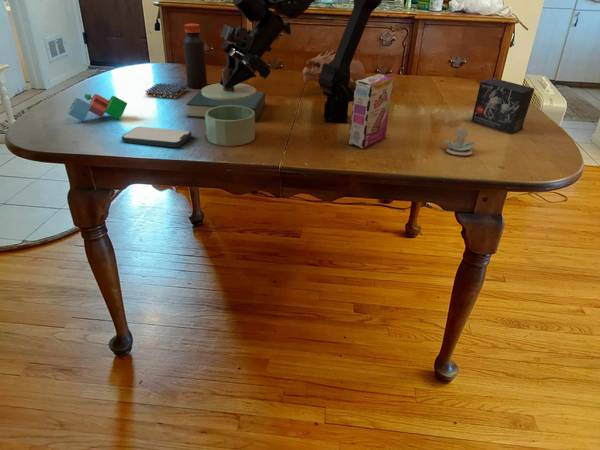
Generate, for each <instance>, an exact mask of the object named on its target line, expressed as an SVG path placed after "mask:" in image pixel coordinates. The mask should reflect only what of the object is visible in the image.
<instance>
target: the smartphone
mask: <svg viewBox="0 0 600 450" xmlns="http://www.w3.org/2000/svg"><path fill="white" fill-rule="evenodd" d="M192 137H193V133H192V131H190V130H181V129H170V128H161V127H160V128H158V127H150V126H136V127H134V128H133V129H130V130H129V131H128V132H126V133H124V134H123V135H122V136H121V142H123V143H128V144H137V145H148V146H158V147H169V148H180V147H182V146H183V145H184V144H185V143H186V142H187V141H189V140H190V139H191V138H192Z"/></svg>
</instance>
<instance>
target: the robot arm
mask: <svg viewBox="0 0 600 450" xmlns="http://www.w3.org/2000/svg"><path fill="white" fill-rule="evenodd" d="M315 1H316V0H232V4H233V5H234V6H235V7H236V9H237V10H238V11H239V12H240V13H241V14H242V15H243V16H244V17H245V18H246V19H247V20H248V22H249V23H253V22H256V24H255V25H254V27H253V28H252V29H249V28H248V29H247V28H245V27H244V26H240V25H238V26H237V27H236V28H235V27H233V26H230V25H228V24H223V28H222V30H221V33H220V38H221V39H223V40H225V41H224V42H223V43H222V44H221V45H220V47H219V48H220V49H221V50H222V51H223V52H224V55H225V58H226V63H225V64H226V65H225V67H224V68H232V69H233V72H232V73H231V75H230V77H229V78H228V80H227V82H226V84H225V85H224V87H225V88H226V89H229V88H231V87H233V86H235V85H237V84H239V83H243V82H246V81H248V80H251V79H253V78H256V77H257V75H256V73H258V75H259V77H261V78H262V79H264V80H266V79H267V78H268V77H269V76H270V74H271V66H270V65H268V64H267V63H266V62H265V60H264V59H262V57H263V56H264V55H265V53H266V52H268V53H270V52H271V51H272V50H273V48H272V47H271V46H272V44H273V43H274V42H275V41H276V39H278V37H279V35H281V33H283V34H286V35H288V36H289V35H291V34H292V30H291V21H286V20H284V19H283V17H286V18H288V19H297V18H299V17H300V16H301V15H302V14H304V12H306V11H307V10H308V9H309V8H310V6H311V5H312V4H313V3H314V2H315ZM382 1H383V0H353V7H352V10H351V13H350V16H349V19H348V21H347V23H346V26H345V28H344V31H343V34H342V36H341V39H340V42H339V45H338V47H337V49H336V52H335V53H336V54H335V53H334V54H335V57H334V59H333V60H332V61H331V62H330V63H329V64H326V63H324V64H323V67H322V71H321V73H320V74H319V76H318V77H320V78H319V83H318V85H319V88H320V90H321V91H322V95H323V96H325V97H326V101H325V102H324V107H323V108H324V110H323V118H324V122H327V123H340V124H341V123H342V124H347V123H348V120H349V114H348V113H349V104H350V102H352V103H353V100H354V90H352V89H351V87H350V86H348V85H349V81H350V64H351V62H352V59H353V60H354V57H355V54H356V52H357V50H358V46H359V44H360V42H361V39H362V36H363V34H364V32H365V29H366V28H367V27H366V26H367V24H368V22H369V19H370V17H371V15H372V13H373V12H374V11H375V10H376V9H377V8H378V7H379V6H380V5H381V4H382ZM272 10H274V12H275V13H273V11H272ZM281 16H282V17H281ZM219 83H220V84H221V85H222V86H223V79H222V77H221V78H220V81H219Z"/></svg>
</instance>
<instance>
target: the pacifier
mask: <svg viewBox="0 0 600 450" xmlns="http://www.w3.org/2000/svg"><path fill="white" fill-rule="evenodd" d="M468 135H469V130H468V129H467V127H465V126H460V127H458V128H457V129H456V131H455V141H454V142H452V141H450V140H447V139H444V143H445V145H446V146H448V147H449V148H447V149H446V152H447V153H448V154H451V155H454V156H462V157H463V156H464V157H465V156H466V157H467V156H472V154H473V151H472V149H473V148H474V146H475V142H474V141H467V142H465V140H466V139H467V137H468Z"/></svg>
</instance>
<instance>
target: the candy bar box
mask: <svg viewBox="0 0 600 450" xmlns="http://www.w3.org/2000/svg"><path fill="white" fill-rule="evenodd" d="M394 82H395V77H394V76H390V75H386V74H382V73H377V74H374V75H371V76H368V77H364V79H361V80H357V81H355V87H354V90H353V92H354V99H353V101H352V109H351V120H350V128H349V136H348V145H350V146H352V147H356V148H358V149H363V150H364V149H366V148H368V147H370V146H372V145H373V144H375V143H378V142H380V141H381V140H384V139H385V138H386V134H387V127H388V120H389V113H390V106H391V101H392V94H393V87H394Z"/></svg>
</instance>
